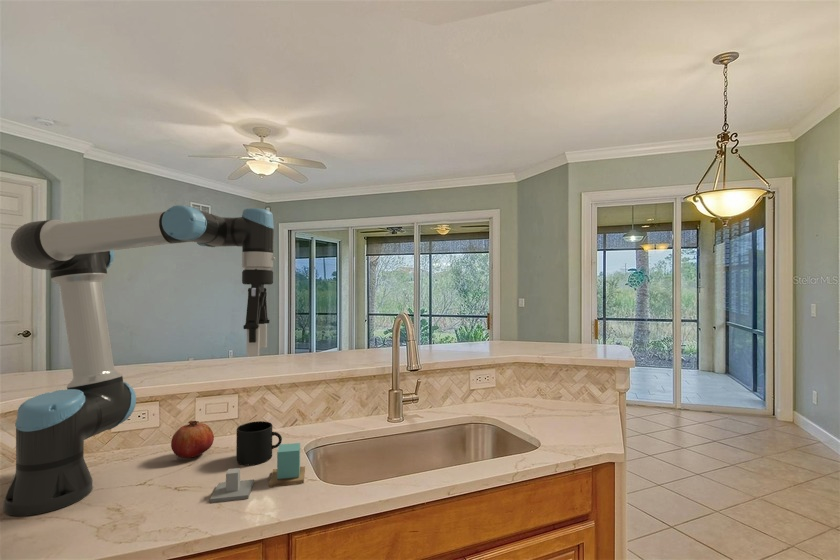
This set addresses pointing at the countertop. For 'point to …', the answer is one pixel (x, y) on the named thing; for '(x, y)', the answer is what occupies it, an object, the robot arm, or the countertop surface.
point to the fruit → (192, 440)
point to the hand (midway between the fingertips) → (257, 351)
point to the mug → (255, 443)
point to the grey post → (232, 487)
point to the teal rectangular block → (288, 461)
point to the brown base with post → (286, 479)
